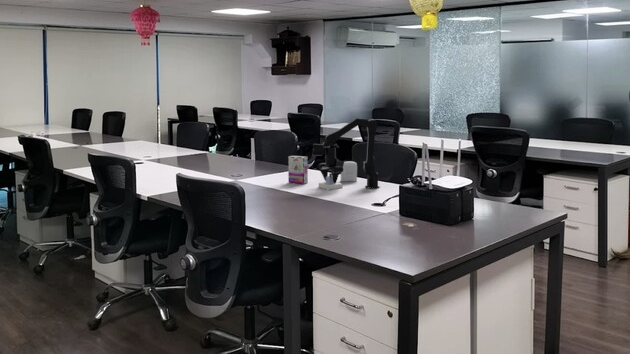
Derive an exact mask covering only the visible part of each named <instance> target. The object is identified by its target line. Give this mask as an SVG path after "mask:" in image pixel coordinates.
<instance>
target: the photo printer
mask: <svg viewBox="0 0 630 354" xmlns="http://www.w3.org/2000/svg"><path fill="white" fill-rule="evenodd" d="M343 162H344V165H343V172H342V173H340V182H357V180H358V163H357V162H355V161H349V160H347V161H343Z"/></svg>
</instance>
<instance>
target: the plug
mask: <svg viewBox="0 0 630 354" xmlns="http://www.w3.org/2000/svg"><path fill="white" fill-rule="evenodd" d="M328 174H329V176H327V177H326V181H325V182H326V184H329V185H330V184H335V183H334V182H333V178H332V174H331V172H328Z"/></svg>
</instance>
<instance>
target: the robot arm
mask: <svg viewBox="0 0 630 354" xmlns="http://www.w3.org/2000/svg"><path fill="white" fill-rule="evenodd" d="M357 126H362V127H365V128H366V131H367V144H366V145H367V147H366V160H365V161H362V162H363V167H362V169H363V171H364V173H365V174H366V175H367V178H366V185H365V186H364V187H365V188H367V187H369V188H368V189H371V188H372V189H377V188H376V187H380V186H379V173H378V171H376V169H375V162H374V153H375V138H376V133H377V130H378V122H377V121H376V120H375V119H373V118H370V119H364V118H363V119H362V118H359V117H355V118H354V119H353V120H351V121H349V122H348V123H346V124H345V125H344V126H342V127H341V128H340V129H338V130H335V131H332V132H331V133H328V134H327V135H326V136H325V140H324V141H323V143H321V144H320V143H313V145H312V147H313V148H312V156H315V157H316V156H317V157H318V156H319V157H321V156H323V155H325V156H323V159H324V160H325V162H321V163H318V164H317V169H318V170H319V171H320V173H321V176H322V177H323V179H324V181H325V182H326V177H327V176H328V174H329V171H331V172H330V173H331V174H332V178H333V182H334V183H336V182H337V180H338V177H339V175H341V173H342V172H343V165H344V162H345V161H341V160H339V158H338V157H336V149H339V148H340V146H338V144H337V143H336V142H338V140H339V139H340V138H341V137H342V136H344V135H345V134H347V133H349V132H350V131H351V130H353V129H354V128H356V127H357Z"/></svg>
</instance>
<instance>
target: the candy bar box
mask: <svg viewBox="0 0 630 354" xmlns="http://www.w3.org/2000/svg"><path fill="white" fill-rule="evenodd" d="M308 158H309V157H308V156H302V155H289V156H288V157H287V159H288V161H287V163H288V165H287V166H288V175H287V176H288V183H289V184H295V185H296V184H297V185H306V184H308V172H309V171H308V170H309V169H308V166H309V165H308Z"/></svg>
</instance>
